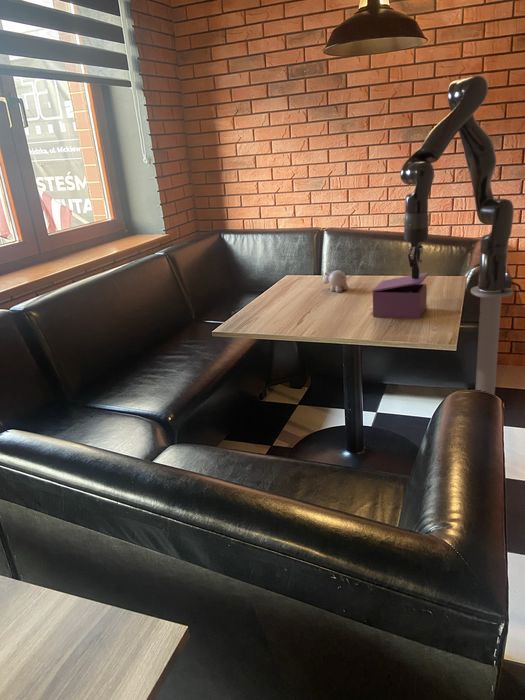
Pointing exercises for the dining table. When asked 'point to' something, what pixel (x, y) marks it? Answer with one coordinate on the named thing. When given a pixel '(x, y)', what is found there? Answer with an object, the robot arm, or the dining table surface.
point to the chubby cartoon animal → (336, 280)
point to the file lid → (399, 282)
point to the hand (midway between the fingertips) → (415, 278)
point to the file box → (400, 302)
